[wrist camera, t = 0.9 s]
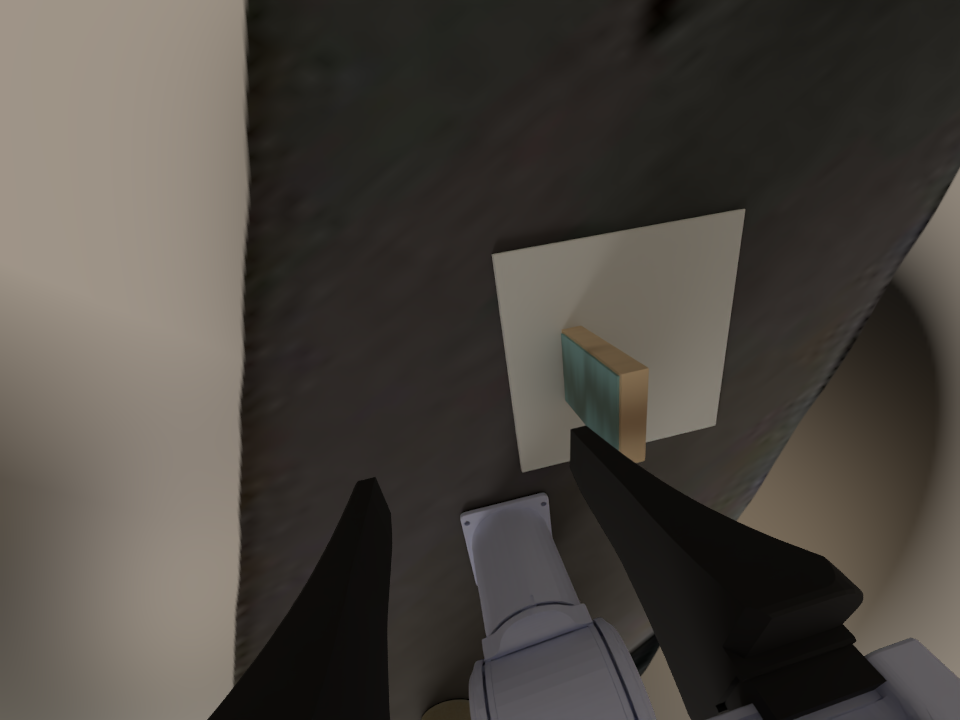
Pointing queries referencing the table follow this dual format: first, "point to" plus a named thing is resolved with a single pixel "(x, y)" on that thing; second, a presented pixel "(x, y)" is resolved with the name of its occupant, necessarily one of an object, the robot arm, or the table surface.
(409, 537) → the table surface
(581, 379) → the wood tile
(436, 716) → the plant pot
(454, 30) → the table surface
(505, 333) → the rubber mat
